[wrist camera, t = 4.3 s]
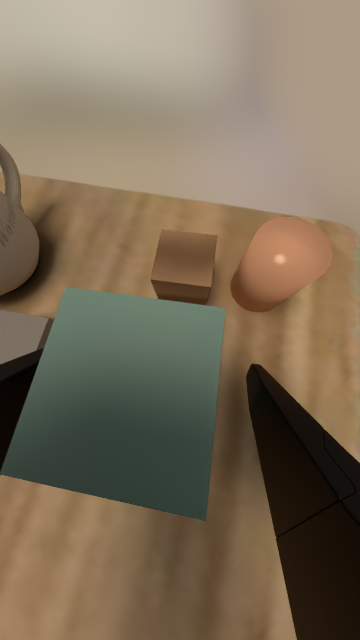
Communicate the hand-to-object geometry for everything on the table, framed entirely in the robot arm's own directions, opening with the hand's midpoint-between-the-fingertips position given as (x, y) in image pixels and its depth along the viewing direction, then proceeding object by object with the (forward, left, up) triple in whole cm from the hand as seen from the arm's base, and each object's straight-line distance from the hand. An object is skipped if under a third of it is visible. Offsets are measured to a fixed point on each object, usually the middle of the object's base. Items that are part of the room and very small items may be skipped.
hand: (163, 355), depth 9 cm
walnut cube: (+4, -6, -7) cm, 10 cm away
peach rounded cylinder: (-1, -11, -7) cm, 13 cm away
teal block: (-1, +1, -7) cm, 7 cm away
